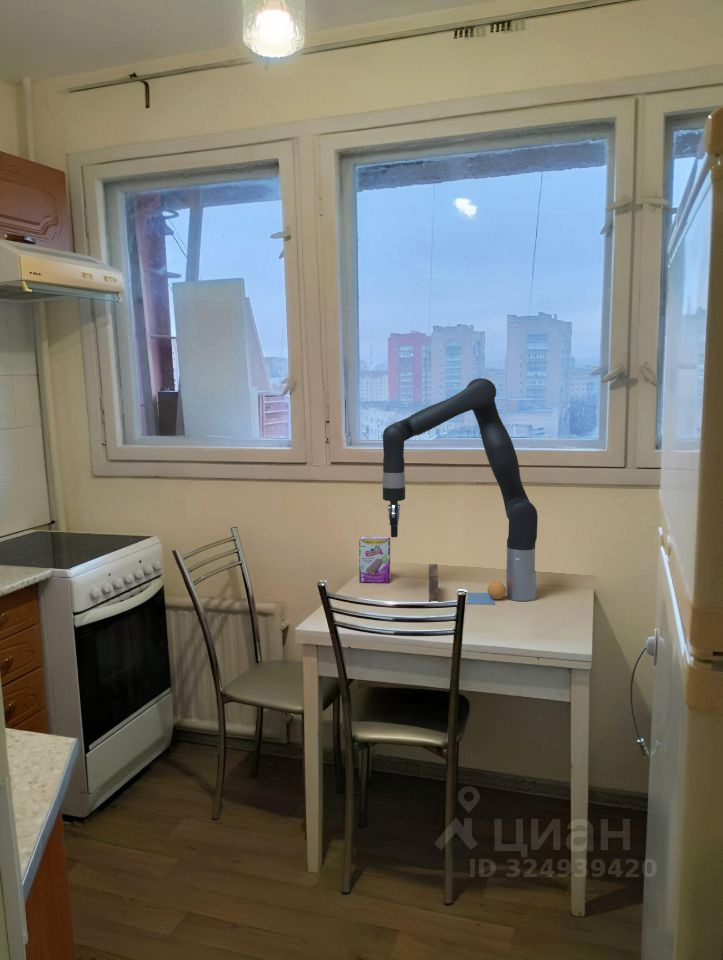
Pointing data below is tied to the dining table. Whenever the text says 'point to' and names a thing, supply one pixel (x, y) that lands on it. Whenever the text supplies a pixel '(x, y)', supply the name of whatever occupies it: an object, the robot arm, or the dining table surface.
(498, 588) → the ball
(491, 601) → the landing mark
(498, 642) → the dining table surface
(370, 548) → the candy bar box
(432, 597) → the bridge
